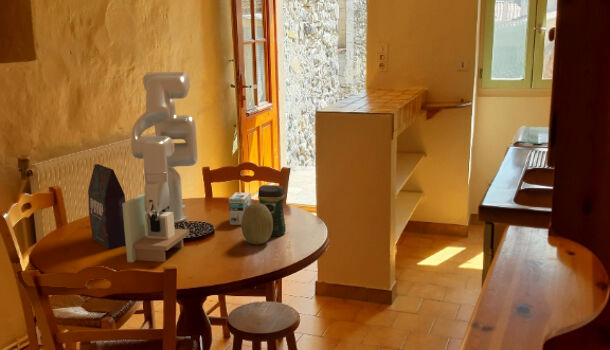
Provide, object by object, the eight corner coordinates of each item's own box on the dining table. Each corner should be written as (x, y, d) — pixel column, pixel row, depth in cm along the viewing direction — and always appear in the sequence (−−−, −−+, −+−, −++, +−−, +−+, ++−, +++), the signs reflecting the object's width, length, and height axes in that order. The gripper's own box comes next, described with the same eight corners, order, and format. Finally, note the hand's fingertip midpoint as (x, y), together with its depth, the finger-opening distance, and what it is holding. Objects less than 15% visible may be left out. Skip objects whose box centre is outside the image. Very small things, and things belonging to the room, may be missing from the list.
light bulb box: (245, 225, 236) (244, 199, 233) (229, 224, 237) (228, 198, 234) (252, 217, 246) (251, 192, 244) (236, 217, 247) (235, 192, 245)
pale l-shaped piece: (155, 242, 217) (151, 189, 212) (191, 244, 214) (188, 190, 209) (127, 261, 198) (122, 203, 193) (166, 264, 195) (162, 205, 190)
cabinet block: (153, 233, 208) (151, 211, 206) (174, 234, 206) (173, 212, 204) (146, 238, 203) (144, 215, 201) (168, 239, 201) (166, 216, 199)
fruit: (253, 236, 222) (252, 197, 218) (279, 240, 216) (278, 201, 213) (235, 245, 212) (234, 205, 209) (262, 250, 207) (261, 208, 203)
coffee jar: (287, 231, 228) (286, 183, 224) (281, 237, 220) (280, 188, 216) (263, 229, 230) (262, 182, 226) (256, 235, 223) (255, 187, 218)
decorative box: (108, 249, 210) (101, 171, 204) (90, 238, 222) (83, 165, 216) (130, 244, 215) (124, 168, 209) (111, 234, 227) (105, 161, 221)
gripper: (158, 171, 209) (161, 220, 213) (133, 182, 192) (137, 236, 196) (177, 172, 207) (181, 221, 211) (154, 183, 191) (158, 237, 195)
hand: (160, 228), depth 204 cm, fingers open, 5 cm apart
